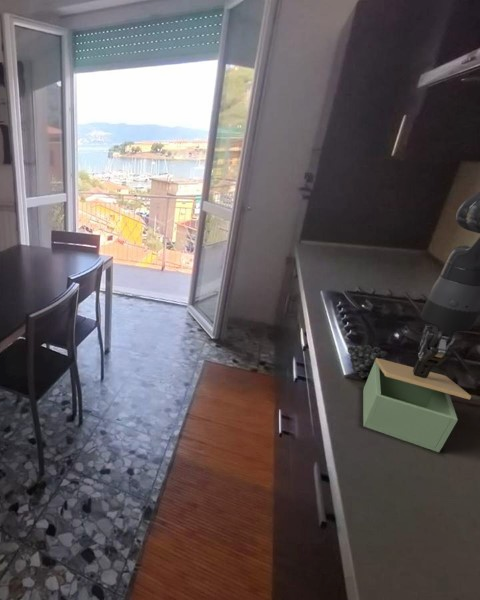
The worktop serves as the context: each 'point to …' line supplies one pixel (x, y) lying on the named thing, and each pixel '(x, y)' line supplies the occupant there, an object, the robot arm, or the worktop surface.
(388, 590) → the worktop surface
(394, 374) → the bin lid
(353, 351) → the fruit
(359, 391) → the worktop surface
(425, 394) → the bin
